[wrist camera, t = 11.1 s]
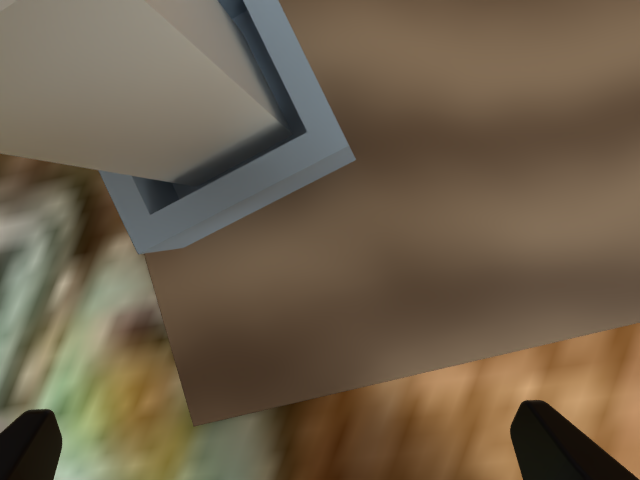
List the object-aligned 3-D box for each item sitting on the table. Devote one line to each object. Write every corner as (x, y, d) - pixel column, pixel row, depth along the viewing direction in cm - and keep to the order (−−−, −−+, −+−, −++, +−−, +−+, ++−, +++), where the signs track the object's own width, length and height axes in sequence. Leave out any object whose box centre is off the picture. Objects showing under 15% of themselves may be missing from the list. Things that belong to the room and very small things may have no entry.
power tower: (293, 134, 18) (91, -48, 6) (196, 186, 19) (-173, 124, 6) (240, 28, 18) (-69, -376, 6) (146, 84, 19) (-313, -174, 6)
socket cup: (356, 159, 18) (348, 145, 15) (183, 247, 20) (138, 254, 16) (267, -22, 19) (239, -79, 15) (101, 76, 20) (38, 45, 16)
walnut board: (743, 291, 17) (760, 294, 17) (201, 418, 21) (193, 426, 20) (618, -152, 17) (629, -170, 17) (94, 46, 21) (82, 39, 20)
